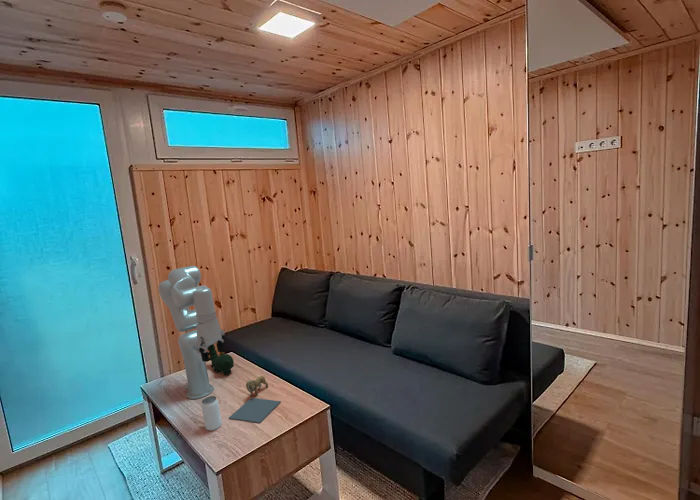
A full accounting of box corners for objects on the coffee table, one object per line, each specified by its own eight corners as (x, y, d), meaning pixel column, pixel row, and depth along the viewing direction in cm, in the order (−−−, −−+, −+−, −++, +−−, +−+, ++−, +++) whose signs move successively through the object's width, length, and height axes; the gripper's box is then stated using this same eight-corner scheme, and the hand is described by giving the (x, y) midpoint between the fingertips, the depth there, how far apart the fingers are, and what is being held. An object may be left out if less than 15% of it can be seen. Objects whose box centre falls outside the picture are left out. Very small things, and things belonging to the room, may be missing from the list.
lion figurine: (255, 401, 175) (252, 382, 174) (245, 400, 177) (242, 382, 176) (270, 385, 189) (268, 368, 188) (261, 384, 191) (258, 367, 189)
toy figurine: (206, 372, 217) (224, 380, 198) (199, 340, 216) (217, 345, 197) (222, 365, 223) (241, 373, 204) (215, 334, 222) (234, 339, 203)
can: (216, 431, 155) (211, 404, 153) (202, 431, 156) (197, 404, 155) (224, 421, 161) (220, 395, 159) (211, 421, 163) (206, 395, 161)
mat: (229, 418, 163) (228, 417, 163) (251, 398, 178) (251, 397, 178) (260, 423, 157) (259, 422, 157) (280, 402, 171) (280, 401, 171)
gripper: (213, 311, 169) (220, 348, 171) (184, 324, 153) (192, 365, 155) (227, 311, 166) (233, 348, 168) (199, 324, 150) (206, 365, 152)
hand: (213, 356), depth 161 cm, fingers open, 9 cm apart
